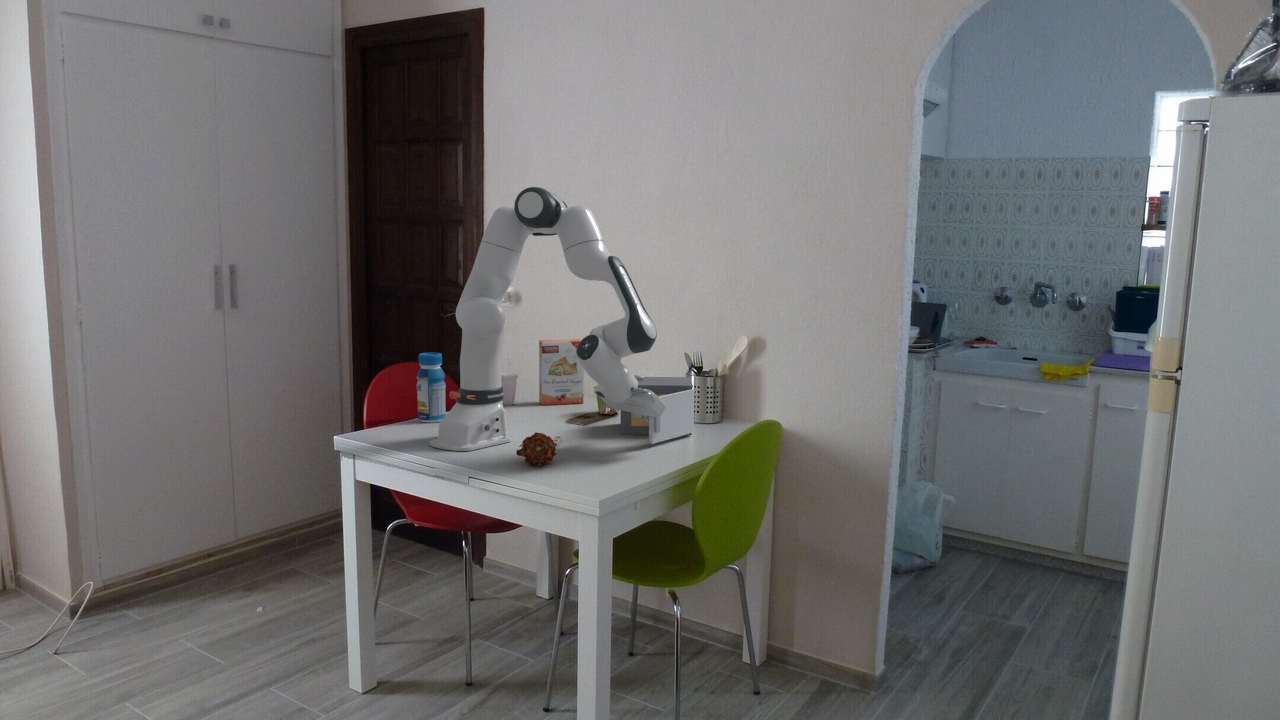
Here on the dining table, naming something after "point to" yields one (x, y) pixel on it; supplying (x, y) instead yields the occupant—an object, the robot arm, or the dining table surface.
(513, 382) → the smoothie
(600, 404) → the plant pot
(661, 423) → the side door
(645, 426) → the gray cabinet
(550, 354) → the cracker box
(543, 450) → the dragon fruit
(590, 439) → the dining table surface
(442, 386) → the beverage bottle
